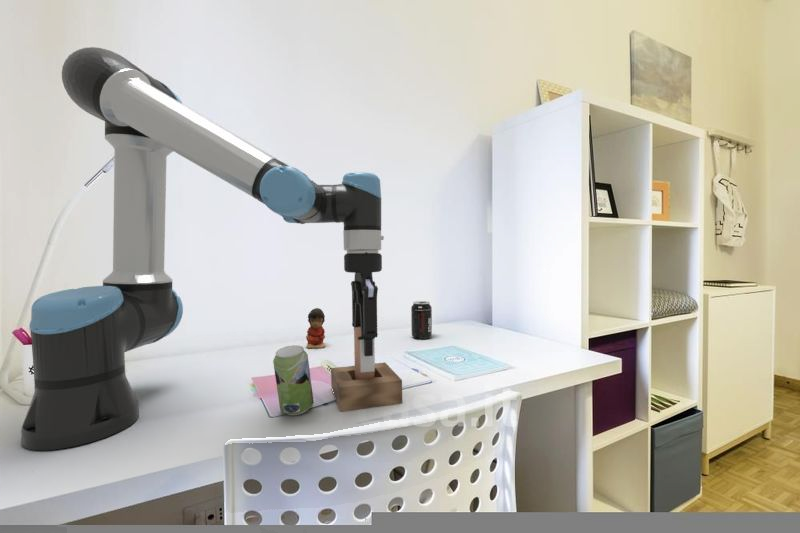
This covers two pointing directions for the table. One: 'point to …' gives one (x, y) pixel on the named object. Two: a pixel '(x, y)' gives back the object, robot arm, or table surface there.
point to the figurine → (316, 329)
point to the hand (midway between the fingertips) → (364, 366)
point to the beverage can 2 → (421, 320)
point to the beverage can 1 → (293, 380)
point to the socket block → (365, 388)
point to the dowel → (357, 357)
